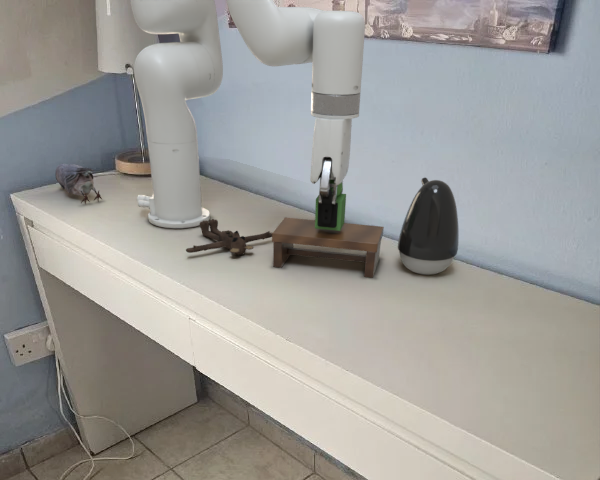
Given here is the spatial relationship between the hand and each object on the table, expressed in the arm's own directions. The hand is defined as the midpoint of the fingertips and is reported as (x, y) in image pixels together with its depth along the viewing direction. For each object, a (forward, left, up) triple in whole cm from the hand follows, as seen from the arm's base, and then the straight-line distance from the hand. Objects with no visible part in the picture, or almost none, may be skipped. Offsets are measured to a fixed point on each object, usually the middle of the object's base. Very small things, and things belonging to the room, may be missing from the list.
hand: (329, 220), depth 105 cm
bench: (0, 0, -8) cm, 8 cm away
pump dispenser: (+17, +2, -8) cm, 19 cm away
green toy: (0, 0, -1) cm, 1 cm away
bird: (-62, +24, -8) cm, 67 cm away
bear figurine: (-20, +3, -8) cm, 22 cm away
